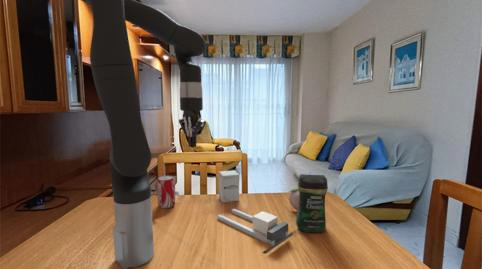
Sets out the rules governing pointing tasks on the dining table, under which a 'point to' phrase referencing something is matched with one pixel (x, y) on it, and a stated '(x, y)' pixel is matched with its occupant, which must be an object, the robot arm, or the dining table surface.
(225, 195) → the supplement box
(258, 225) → the block
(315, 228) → the coffee jar
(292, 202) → the decorative fruit
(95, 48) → the robot arm
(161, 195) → the soda can
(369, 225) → the dining table surface
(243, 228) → the grey slide rail
